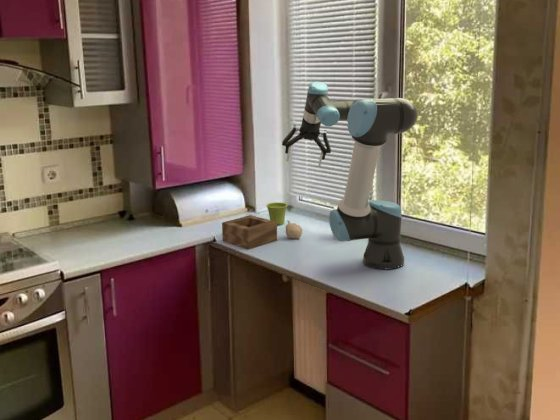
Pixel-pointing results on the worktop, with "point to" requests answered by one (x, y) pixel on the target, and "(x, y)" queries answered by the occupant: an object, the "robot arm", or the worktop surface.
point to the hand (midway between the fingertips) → (303, 162)
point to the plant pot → (277, 212)
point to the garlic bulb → (293, 230)
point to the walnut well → (249, 231)
